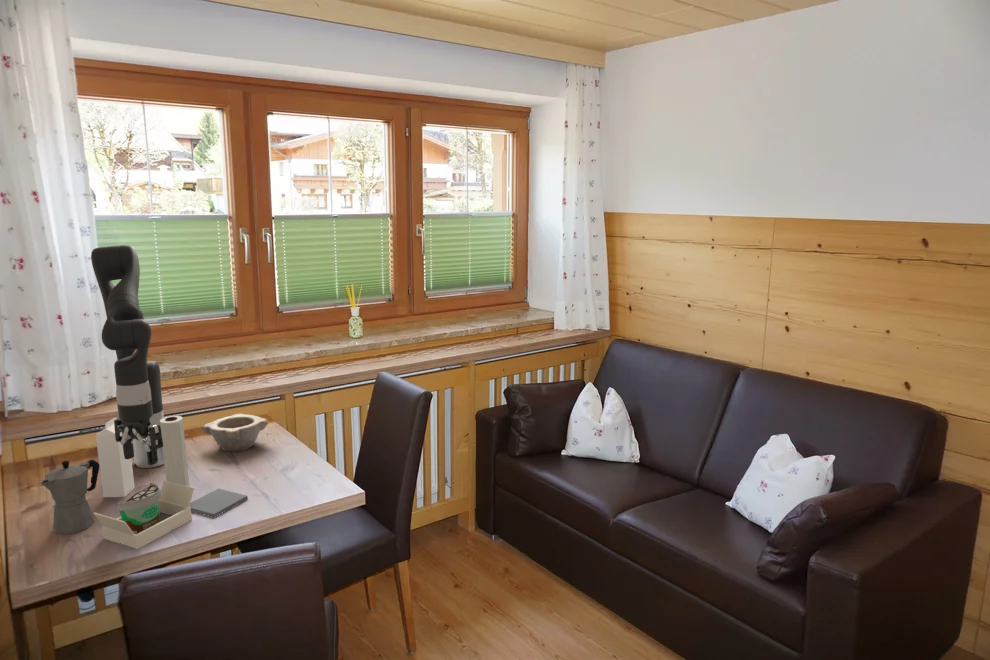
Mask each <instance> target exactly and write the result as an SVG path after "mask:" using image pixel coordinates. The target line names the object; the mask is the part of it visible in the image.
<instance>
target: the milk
mask: <svg viewBox="0 0 990 660" xmlns="http://www.w3.org/2000/svg"><path fill="white" fill-rule="evenodd" d="M116 419H117V417H114V418H112V419H110V420H108V421H107V422H106V423H105V424H104V426H105V427H104V429H102V430H101V431H99V432H98V433H96V434H95V440H96V449H97V456H98V457H97V458H98V463H99V472H100V473H99V474H100V479H101V488H102V497H103V498H125V497H127V496H128V495H129V494H131V492H132V491H133V490H134V489H135V478H134V471H133V463H132V462H133V461H132V458H130V459H125V458H124V452H123V446H122V445H121V442H116V440H115V427H114V420H116ZM120 436H122V432H120Z"/></svg>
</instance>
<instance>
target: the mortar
mask: <svg viewBox="0 0 990 660" xmlns="http://www.w3.org/2000/svg"><path fill="white" fill-rule="evenodd" d="M268 424H269V421H268V419H267V418H264V417H260V416H258V415H253V414H244V413H236V414H232V415H229V416H224V417H221V418H217V419H216V420H214V421H211V422H208V423H205V424H203V426H202V430H203V431H204V433H206V434H207V435H208V436H212V437H213V439H214V440H215V442H216V444H217V445H218V446H219V447H220V448H221V449H222V450H224V451H226V452H233V453H234V452H242V451H245V450H248V449H251V447H252V446H253V445H254V444H255V443H256V440H257V438H258V436H259V434H260V432H261V431H263V430H265V428H267V426H268Z"/></svg>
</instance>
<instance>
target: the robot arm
mask: <svg viewBox="0 0 990 660" xmlns="http://www.w3.org/2000/svg"><path fill="white" fill-rule="evenodd" d="M139 259H140V258H139V256H138V252H137V250H136V249H135V247H134V246H132V245H130V244H129V245H128V244H121V245H111V246H110V245H109V246H100V247H95V248H93V249H92V251H91V255H90V261H91V265H92V269H93V271H94V276H95V278H96V282H97V285H98V289H99V291H100V294H101V297H102V301H103V305H104V309H105V310H104V311H105V315H106V320H105V322H104V324H103V327H102V329H101V341H102V344H103V345H104V346H105V348H107V349H108V350H110V351H115V354H116V359H117V360H116V361H114V365H113V368H114V378H115V386H116V387H115V395H116V396H115V397H116V404H117V413H118V418H116V420H114V427H115V440H116V442H121V445H122V446H123V452H124V458H125V459H130V458H131V459H133V464H135V465H136V466H135V467H138V468H140V469H151V468H155V467H159V466H162V465H163V466H164V458H163V448H162V447H163V440H162V433H161V426H160V420H161V419H162V418H165V415H164V407H163V397H162V379H161V378H162V377H161V368H160V364H159V363H158V362H157V361H154V360H149V361H148V352H149V349H150V348H149V347H150V343H151V338H152V327H151V325H150V324H149V322H148V321H147V320H145V318H144V314H143V311H142V310H141V308H140V302H139V288H140V270H141V268H140V260H139ZM118 280H119V282H118V283H116V285H115V284H114V282H113V281H118ZM120 432H122V436H120Z"/></svg>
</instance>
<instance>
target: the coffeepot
mask: <svg viewBox="0 0 990 660" xmlns="http://www.w3.org/2000/svg"><path fill="white" fill-rule="evenodd" d="M61 465H62V467H58V468H55V469H52V470H51V471H50V472H47V473H46V474H44V476H45V478H44V479H43V480H42V481H41V482H40V486H44V487H45V488H46V489H47V490H48V491H49V492H50V494H51V497H52V499H53V501H54V508H53V509H54V510H53V524H52V525H53V526H52V529H53V530H54V532H55V534H59V535H72V534H75V533H80V532H82V531H85V530H86V529H89V528H90V527H92V526H93V524H94V523H95V519H94V516H93V515H94V514H93V512H92V510H91V506H90V505H89V500H88V499H87V498H86V494H88V492H92V491H93V490H95V489H96V487H97V481H98V476H99V472H100V465H99V461H96V460H95V459H90V460H88V461H84V462H82V463H79V464H73V465H72V464H71V465H70V461H69V460H63V461H62V462H61ZM90 468H92V469H91V477H90V487H88V474H89V469H90Z"/></svg>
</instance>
